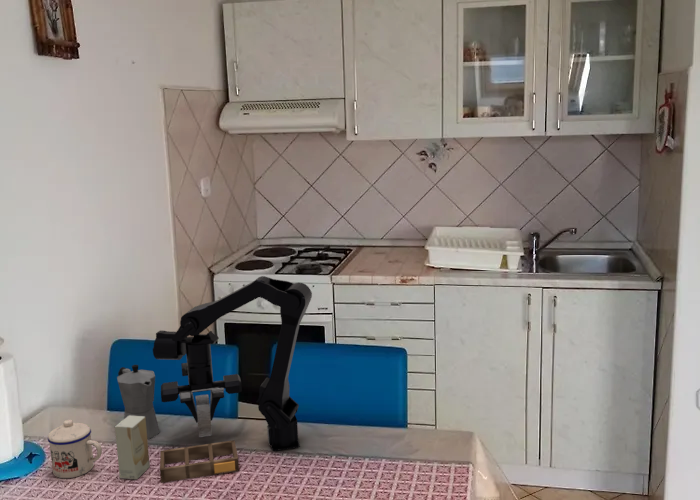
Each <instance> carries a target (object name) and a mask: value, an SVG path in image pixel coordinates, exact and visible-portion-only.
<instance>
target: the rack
mask: <svg viewBox="0 0 700 500" xmlns="http://www.w3.org/2000/svg"><path fill="white" fill-rule="evenodd" d="M159 455H160V457H159V458H160V459H159V462H160V463H159V473H160V483H161V484H163V483H170V482H174V481H175V482H176V481H181V480H188V479H195V478H202V477H209V476H213V475H214V476H215V475H221V474H227V473H228V474H229V473H234V472H239V471H240V466H239V465H240V463H239V456H238V451H237V445H236V441H235V439H234V440H227V441H219V442H212V443H206V444H198V445H191V446H185V447H177V448H176V447H175V448H171V449H170V448H169V449H163V450H160V454H159ZM229 455H232V456H231V457H227V458H222V459H214V458H215V457H221V456H229ZM202 459H208V460H207V461H199V462H193V463H192V462H191V463H190V461H195V460H202ZM182 462H184V464H179V465H173V466H168V467H167V466H166V465H167V464H168V465H169V464H175V463H182Z"/></svg>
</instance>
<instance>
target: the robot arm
mask: <svg viewBox="0 0 700 500" xmlns="http://www.w3.org/2000/svg"><path fill="white" fill-rule="evenodd" d="M312 297H313V292H312V290H311V288H310V287H309V286H308V285H307V284H305V283H303V282H291V281H287V280H281V279H275V278H271V277H268V276H265V275H261V276H259V277H257V278H256V279H255V280H253V281H252V282H249V283H248V284H246V285H244V286H242V287H241V288H238V289H236V290H234V291H232V292H231V293H229V294H226V295H225V296H224V297H222V298H219V299H218V300H215V301H209V302H205V303H203V304H198V305H196V306H193V308H191V309H189V310H188V311H187V312H186V313H184V314H182V316H181V317H180V321H179V324H180V326H179V328H178V329H177V330H176V331H166V330H159V331H157V332H155V339H154V342H153V348H152V355H153V357H154V359H156V360H165V361H166V360H168V361H169V360H173V361H174V360H175V361H176V360H177V361H180V360H182V359H183V356H185V355H186V362H182V363H181V365H180V366H181V376H182V377H186V376H187V378H188V379H187V380H188V384H185V385H179V384H178V381H171V382H163V383H162V384H161V385H160V399H161V400H160V401H161V403H169V402H176V400H178V399H180V400H179V402H180V404H185V405H186V407H187V408H188V410H189V411H190V413H191V415H192V416H193V419H194V421H195V423H196V424H198V418H197V407H196V401H195V399H194V393H199V392H200V393H201V392H208V391H210V398H209V404H210V417H211V422H212V421H213V419H214V416H215V413H216V410H217V407H218V404H219V402H220V400H221V399H224V398H225V393H224V391H225V392H226V393H227V394H228V395H232V394H239V393H241V392H243V385H242V380H241V377H240V375H239V374H238V373H235V374H227V375H223V380H216V381H214V376H213V364H212V363H213V362H212V361H213V360H212V359H213V358H212V349H211V347H212V346H211V345H213V344H215V343H216V342H217V341H218V340H219V336H218V335H216V334H215V333H213V331H212V330H210V331H208V332H207V333H206V334H204V333H202V332H204V331H206V329H208V328H209V327H210V326H211V325H212V324H213V323H215V322H216V321H218V320H219V319H220V318H222V317H224V316H225V315H227V314H230V313H231V312H233V311H235V310H237V309H239V308H241V307H243V306H246V305H247V304H248V303H250V302H252V301H255V300H256V299H258V298H261V299H263V300H265V301H267V302H268V303H270V304H272V305H275V306H276V307H279V313H280V321H281V325H280V330H279V334H278V340H277V344H276V350H275V352H274V353H275V354H274V358H273V363H272V367H271V373H270V377H266V378H265V379H264V381H263V382H262V383H261V385H260V386H259V388H258V399H257V400H256V402H255V403H256V404H258V406H257V407H258V411H259V412H260V414H261V415H262V416H263V417H264V419H265V420H266V424H267V426H266V428H267V429H266V430H267V442H268V445H269V446H270V447H271V450H272V452H277V451H278V452H279V451H285V450H291V449H297V448H300V447H301V444H300V442H299V431H298V429H299V427H298V418H297V416H296V414H297V413H298V409H299V406H300V405H299V403H298V402H296V401H295V399H293V398H292V397H291V396H290V382H289V374H290V370H291V365H292V362H293V356H294V352H295V347H296V345H297V344H296V343H297V339H298V338H297V337H298V334H299V330H300V324H301V323H302V321H303V318H304V316H305V313H306V312H307V310H308V307H309V305H310V302H311V301H312Z"/></svg>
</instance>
